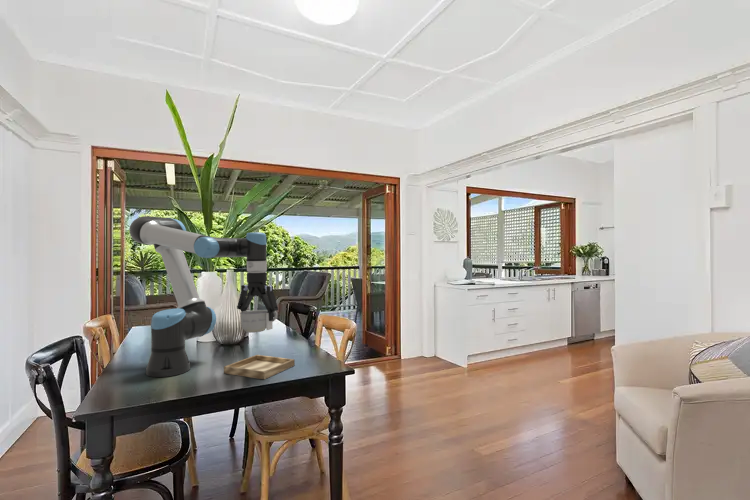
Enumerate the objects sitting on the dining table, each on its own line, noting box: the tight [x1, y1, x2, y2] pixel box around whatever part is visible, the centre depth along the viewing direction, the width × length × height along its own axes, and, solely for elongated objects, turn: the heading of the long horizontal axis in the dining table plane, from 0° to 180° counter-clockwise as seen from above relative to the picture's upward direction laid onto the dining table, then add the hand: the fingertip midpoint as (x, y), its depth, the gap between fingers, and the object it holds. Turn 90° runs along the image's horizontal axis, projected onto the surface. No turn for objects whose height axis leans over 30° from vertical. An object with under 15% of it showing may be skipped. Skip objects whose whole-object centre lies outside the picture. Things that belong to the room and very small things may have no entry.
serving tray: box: [223, 354, 296, 380], centre depth 158 cm, size 19×19×2 cm
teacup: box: [239, 309, 278, 334], centre depth 156 cm, size 14×11×8 cm
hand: (257, 328), depth 157 cm, fingers closed on teacup, 11 cm apart
